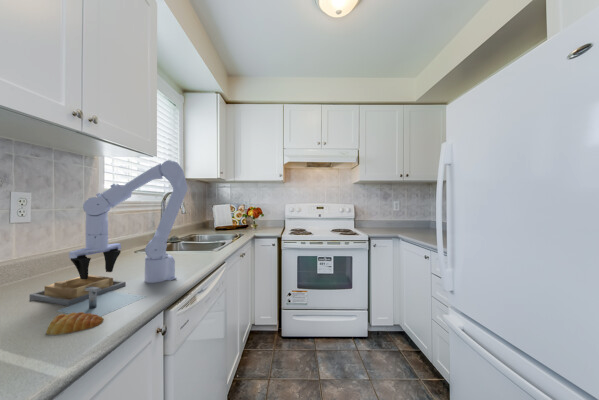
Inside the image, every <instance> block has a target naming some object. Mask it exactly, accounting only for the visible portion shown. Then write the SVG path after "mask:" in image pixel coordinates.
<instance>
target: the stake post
mask: <svg viewBox="0 0 599 400" xmlns="http://www.w3.org/2000/svg"><path fill="white" fill-rule="evenodd" d="M85 291H89V309H94V308H96V307H97V292H98V291H101V288H98V287H91V286H89V287H86V288H85Z"/></svg>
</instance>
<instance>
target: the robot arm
mask: <svg viewBox="0 0 599 400" xmlns="http://www.w3.org/2000/svg"><path fill="white" fill-rule="evenodd" d="M163 177H164V178H165V179H166V180H167V182H169V184H170V186H171V187H172V192H171V194H170V196H169V199H168V202H167V204H166V207H165V209H164V211H163V213H162V216H161V218H160V221H159V223H158V225H157V228H156V230H155V233H154V235H153V237H152V238H151V239H150V240H149V241H148V242H147V245H146V246H145V248H144V252H145V256H144V282H145V283H147V284H154V283H160V282H165V281H166V280H167V281H172V280H176V279H177V276H176V275H175V274H176V271H175V270H176V260H175V258H174V256H173V255H171V254H168V253H167V247H168V243H167V241H168V240H169V236H170V234H171V231H172V229H173V226H174V224H175V222H176V219H177V216H178V213H179V212H180V209H181V207H182V204H183V201H184V199H185V197H186V194H187V191H188V190H189V189H188V188H189V187H188V184H187V180H186V179H187V178H186V177H185V172H184V169H183V168H182V166H181V165H180V164H179V163H178V162H177V161H175V160H172V159H171V160H169V159H168V160H165V161H164V162H162V163H159V164H156V165H155V166H152V167H151V168H148V169H147V170H146V171H145V172H144V171H143V173H141V174H139V175H138V176H136V177H135V178H133V179H131V180H130V181H128V182H126V183H121V182H120V183H117V184H115V183H112V184H111V185H110V187H109V188H107V189H106V190H105V191H103V192H101V193H100V192H98V193H96V196H93V197H88V198H87V200H85V201H84V202H83V205H82V209H83V211H84V212H85V247H84V248H79V249H76V250H72V251H69V252H68V258H69V259H70V261H71V263H72V264H73V265H74V266H75V268H76V269H77V272H78V275H79V277H80V278H81V279H88V275H89V265H90V262H91V257H88V256H91V255H95V254H101V253H103V257H104V263H105V265H104V267H105V268H104V269H105V273H112V272H113V271H114V267H115V264H116V261H117V259H118V257H119V256H120V254H121V251H122V250H121V249H122V243H118V242H117V243H110V244H109V218H108V217H109V215H108V214H109V211H110V210H111V209H112V208H115V207H117V206H118V205H120V204H121V203H123V202H125V201H127V200H128V199H130V198H131V197H132V194H133V192H134V191H136V190H137V189H140V188H141V187H143V186H145V185H147V184H148V183H151V182H152V181H155V180H163V179H164V178H163Z"/></svg>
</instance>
